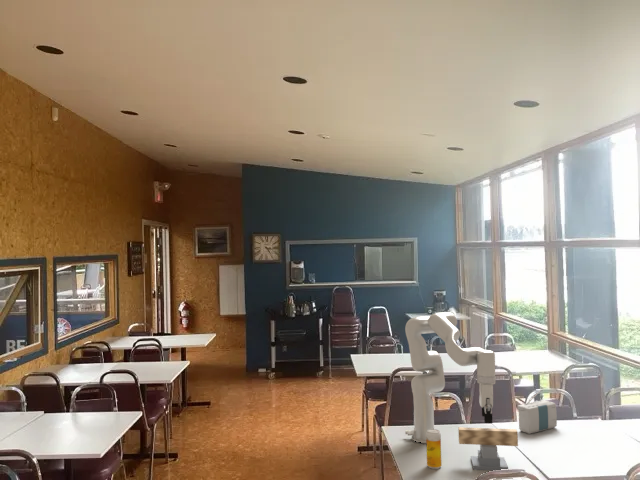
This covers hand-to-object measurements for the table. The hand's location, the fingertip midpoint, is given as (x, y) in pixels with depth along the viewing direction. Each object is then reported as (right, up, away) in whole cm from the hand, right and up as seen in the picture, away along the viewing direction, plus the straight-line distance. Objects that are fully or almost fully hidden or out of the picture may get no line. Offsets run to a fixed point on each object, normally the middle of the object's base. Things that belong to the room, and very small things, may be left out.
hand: (487, 419), depth 239 cm
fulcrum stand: (0, -19, -1) cm, 19 cm away
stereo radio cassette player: (+40, -21, +47) cm, 65 cm away
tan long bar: (0, -10, -1) cm, 10 cm away
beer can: (-23, -20, -2) cm, 30 cm away
